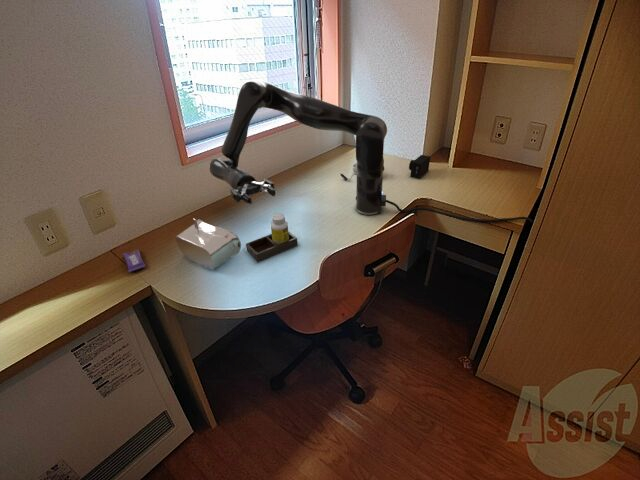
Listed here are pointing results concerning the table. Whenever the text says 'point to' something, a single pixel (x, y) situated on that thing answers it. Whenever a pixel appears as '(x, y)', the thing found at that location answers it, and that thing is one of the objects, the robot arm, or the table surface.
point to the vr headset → (208, 244)
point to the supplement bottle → (279, 229)
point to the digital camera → (419, 166)
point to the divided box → (269, 247)
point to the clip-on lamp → (353, 171)
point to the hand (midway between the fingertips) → (262, 197)
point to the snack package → (133, 260)
